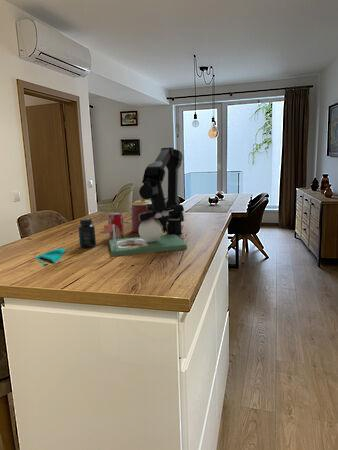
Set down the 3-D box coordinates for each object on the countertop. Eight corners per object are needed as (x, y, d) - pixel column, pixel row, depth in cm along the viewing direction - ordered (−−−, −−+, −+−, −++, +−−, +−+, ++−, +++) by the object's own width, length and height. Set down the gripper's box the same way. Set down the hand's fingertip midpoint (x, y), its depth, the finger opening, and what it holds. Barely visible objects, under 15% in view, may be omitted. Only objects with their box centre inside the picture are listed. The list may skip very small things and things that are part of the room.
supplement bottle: (99, 245, 148) (97, 218, 145) (90, 249, 141) (88, 221, 139) (85, 244, 150) (83, 217, 147) (76, 248, 144) (74, 220, 141)
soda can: (121, 240, 155) (120, 214, 152) (107, 240, 156) (105, 214, 154) (126, 236, 162) (125, 212, 159) (112, 236, 163) (110, 212, 161)
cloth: (51, 249, 145) (51, 244, 145) (81, 249, 143) (81, 244, 143) (16, 269, 120) (15, 263, 120) (52, 269, 118) (52, 263, 118)
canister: (145, 234, 165) (143, 198, 162) (126, 231, 173) (124, 197, 170) (161, 229, 176) (160, 195, 172) (143, 226, 183) (141, 194, 180)
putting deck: (175, 238, 155) (174, 212, 152) (187, 249, 135) (186, 220, 133) (104, 244, 148) (102, 217, 146) (106, 257, 129) (104, 226, 126)
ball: (163, 228, 147) (150, 211, 144) (169, 235, 138) (155, 216, 134) (145, 242, 147) (132, 225, 143) (150, 250, 137) (135, 232, 134)
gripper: (173, 191, 149) (181, 225, 151) (132, 201, 145) (141, 236, 147) (180, 191, 138) (188, 227, 140) (136, 201, 134) (145, 239, 136)
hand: (165, 232), depth 141 cm, fingers closed
